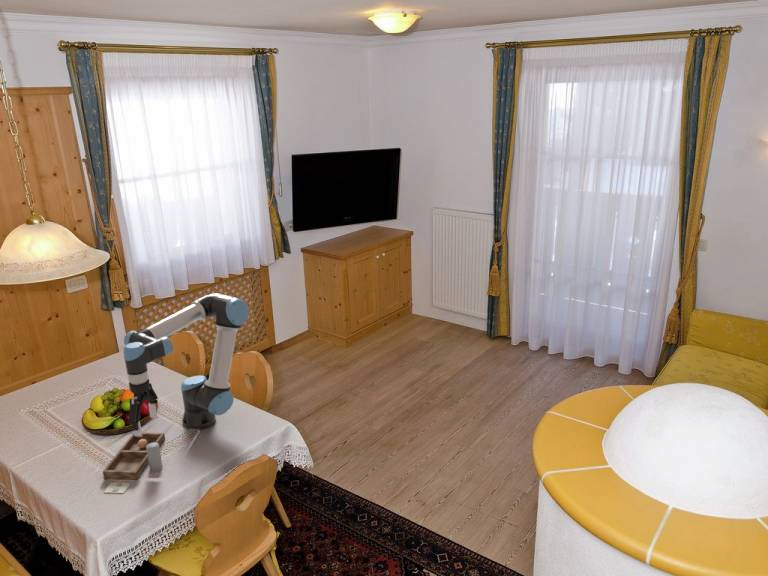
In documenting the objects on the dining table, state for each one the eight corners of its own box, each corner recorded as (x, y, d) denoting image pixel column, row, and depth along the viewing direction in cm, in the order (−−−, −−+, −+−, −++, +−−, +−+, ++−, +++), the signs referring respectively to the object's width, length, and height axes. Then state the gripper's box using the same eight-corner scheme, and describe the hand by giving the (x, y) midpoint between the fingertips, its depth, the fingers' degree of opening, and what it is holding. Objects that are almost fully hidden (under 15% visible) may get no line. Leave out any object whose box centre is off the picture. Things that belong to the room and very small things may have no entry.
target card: (130, 483, 237) (130, 482, 237) (123, 493, 231) (123, 492, 231) (111, 483, 237) (111, 482, 237) (103, 492, 232) (103, 491, 232)
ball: (149, 444, 260) (148, 437, 259) (145, 450, 257) (144, 442, 255) (140, 444, 261) (139, 437, 259) (136, 450, 257) (135, 442, 255)
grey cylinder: (164, 466, 247) (160, 442, 243) (159, 474, 243) (155, 449, 239) (153, 466, 248) (149, 442, 244) (148, 473, 243) (143, 449, 239)
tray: (165, 440, 265) (164, 433, 264) (137, 480, 239) (136, 472, 237) (135, 439, 266) (134, 432, 264) (104, 479, 240) (102, 471, 238)
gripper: (144, 365, 243) (151, 409, 250) (113, 396, 220) (122, 443, 227) (161, 366, 243) (168, 410, 250) (132, 396, 219) (140, 444, 227)
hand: (146, 426), depth 239 cm, fingers open, 13 cm apart
